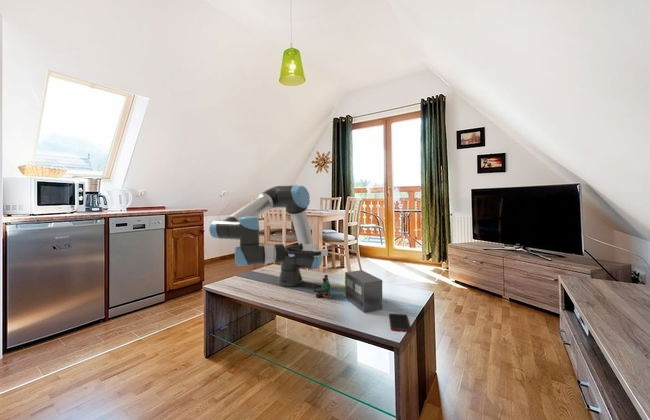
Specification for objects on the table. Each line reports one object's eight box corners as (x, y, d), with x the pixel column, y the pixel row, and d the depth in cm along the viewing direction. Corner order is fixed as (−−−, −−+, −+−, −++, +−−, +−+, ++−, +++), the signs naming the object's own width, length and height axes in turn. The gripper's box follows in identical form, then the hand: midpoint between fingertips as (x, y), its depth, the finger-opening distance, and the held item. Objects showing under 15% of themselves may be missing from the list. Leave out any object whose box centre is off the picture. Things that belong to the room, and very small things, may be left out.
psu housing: (344, 298, 137) (344, 272, 137) (361, 295, 141) (361, 270, 141) (363, 312, 120) (363, 282, 119) (382, 309, 124) (382, 280, 123)
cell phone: (391, 331, 104) (391, 329, 104) (389, 315, 118) (389, 313, 118) (411, 333, 102) (411, 331, 102) (406, 316, 117) (406, 314, 117)
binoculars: (313, 275, 147) (330, 274, 145) (315, 293, 147) (332, 292, 145) (309, 279, 138) (328, 278, 136) (311, 299, 138) (330, 298, 137)
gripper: (268, 256, 120) (312, 252, 128) (281, 269, 97) (332, 264, 105) (268, 240, 120) (312, 237, 128) (280, 249, 97) (332, 245, 105)
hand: (321, 249), depth 117 cm, fingers open, 13 cm apart
